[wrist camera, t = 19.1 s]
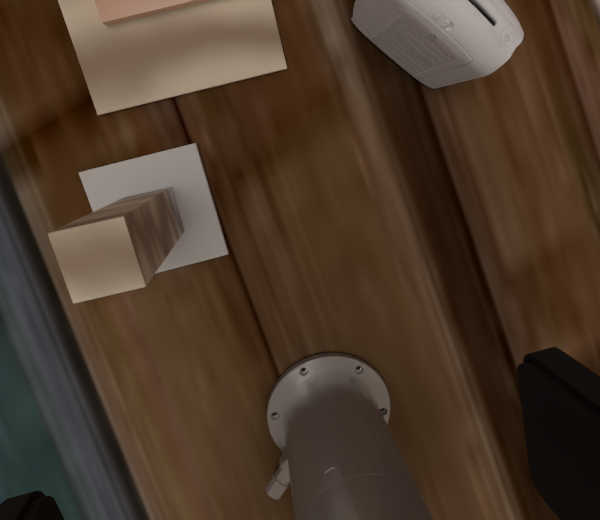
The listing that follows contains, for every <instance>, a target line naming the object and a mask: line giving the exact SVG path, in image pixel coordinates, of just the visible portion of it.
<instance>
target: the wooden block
mask: <svg viewBox="0 0 600 520" xmlns="http://www.w3.org/2000/svg"><path fill="white" fill-rule="evenodd" d="M183 233H184V227H183V224H182V220H181V217H180V213H179V210H178V206H177V203H176V199H175V196H174V192H173V189H172V186H171V187H166V188H162V189H157V190H153V191H148V192H144V193H139V194H135V195H130V196H126V197H124V198H122V199H119V200H117V201H115V202H113V203H111V204H109V205H107V206H105V207H102V208H100V209H98V210H96V211H94V212H92V213H90V214H88V215H86V216H83V217H81V218H79V219H77V220H75V221H73V222H71V223H69V224H66V225H64V226H62V227H60V228H58V229H56V230H54V231H52V232H50V233H48V236H49V239H50V241H51V244H52V247H53V250H54V252H55V255H56V258H57V260H58V263H59V266H60V269H61V271H62V274H63V277H64V279H65V282H66V285H67V288H68V290H69V293H70V296H71V298H72V301H73V304H74V303H78V302H82V301H86V300H91V299H95V298H99V297H104V296H108V295H112V294H117V293H121V292H125V291H129V290H134V289H138V288H142V287H146V286H147V284H148V283H149V281H150V280H151V279H152V277H153V276H154V274H155V273H156V271H157V270H158V268H159V267H160V266H161V264H162V263H163V261H164V260H165V258H166V257H167V256H168V254H169V253H170V251H171V250H172V248H173V247H174V245H175V244H176V243H177V241H178V240H179V238H180V237H181V235H182V234H183Z"/></svg>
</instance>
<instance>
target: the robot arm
mask: <svg viewBox="0 0 600 520" xmlns="http://www.w3.org/2000/svg"><path fill="white" fill-rule="evenodd" d="M357 366H359V367H358V368H356V367H357ZM301 368H305V369H301ZM517 373H518V381H519V389H520V397H521V405H522V413H523V421H524V429H525V436H526V444H527V452H528V460H529V468H530V475H531V478H532V481H533V484H534V486H535V488H536V489H537V491H538V493H539V494H540V495H541V497H542V498H543V499H544V500H545V502H546V503H547V504H548V505H549V506H550V508H551V509H552V510H553V511H554V513H555V514H556V515H557V516H558V517H559V519H560V520H600V376H598V375H597V374H595V373H594V372H592V371H591V370H589V369H588V368H586V367H585V366H583V365H582V364H580V363H579V362H578V361H576V360H575V359H573V358H572V357H570V356H569V355H567V354H566V353H564V352H563V351H561V350H560V349H558V348H556V347H551V348H548V349H544V350H541V351H537V352H533V353H530V354H527V355H525V356H524V360H523V363H522V364H519V365H518V368H517ZM390 411H391V404H390V396H389V393H388V390H387V387H386V385H385V383H384V381H383V379H382V378H381V377H380V375H379V374H378V372H377V371H376V370H375V369H374V368H373V367H372V366H370V365H369V364H368V363H366V362H365V361H363V360H361V359H360V358H357V357H354V356H352V355H349V354H343V353H322V354H317V355H312V356H310V357H307V358H305V359H302V360H300V361H299V362H297V363H295V364H294V365H292V366H291V367H290V368H288V369H287V370H286V371H285V372H284V373H283V374H282V375H281V376H280V378H279V379H278V380H277V381H276V383H275V385H274V387H273V388H272V390H271V392H270V396H269V399H268V403H267V424H268V428H269V431H270V434H271V436H272V438H273V440H274V442H275V444H276V445H277V446H278V447H279V448H280V450H281V451H282V453H283V455H282V456H281V458H280V459H279V465H280V466H279V468H278V469H277V471H275V473H274V474H273V475H272V477H271V478H270V480H269V481H268V483H267V484H266V486H265V490H266V492H267V494H268V495H269V496H270V497H271V498H273V499H277V500H279V499H280V498H281V497H282V496H283V494H284V493H285V491H286V490H287V488H288V487H289V485H291V493H292V501H293V510H294V518H295V520H433V518H432V516H431V514H430V511H429V509H428V507H427V505H426V503H425V501H424V499H423V497H422V495H421V493H420V491H419V489H418V487H417V485H416V483H415V481H414V479H413V477H412V475H411V473H410V470H409V468H408V466H407V464H406V462H405V460H404V458H403V456H402V454H401V452H400V450H399V448H398V446H397V444H396V441H395V439H394V437H393V435H392V433H391V431H390V429H389V427H388V425H387V424H388V422H389V418H390ZM274 412H276V413H274ZM0 520H64V518H63V516H62V514H61V512H60V510H59V508H58V506H57V503H56V501H55V500H54V498H53V497H51V496H45V494H44V493H42V492H41V491H34V492H30V493H27V494H23V495H20V496H16V497H12V498H9V499H7V500H5V501H4V502H3V503H2V504H1V505H0Z"/></svg>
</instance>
